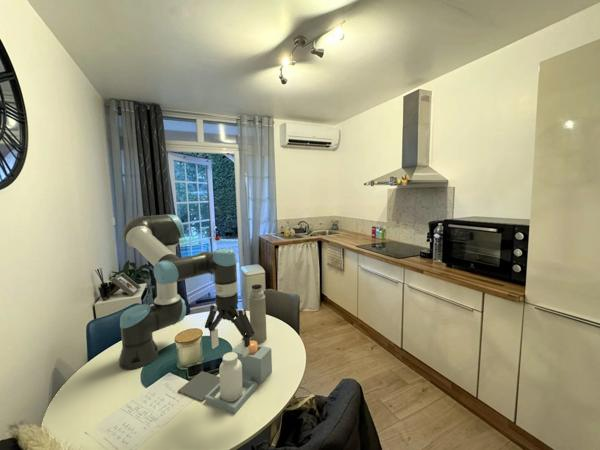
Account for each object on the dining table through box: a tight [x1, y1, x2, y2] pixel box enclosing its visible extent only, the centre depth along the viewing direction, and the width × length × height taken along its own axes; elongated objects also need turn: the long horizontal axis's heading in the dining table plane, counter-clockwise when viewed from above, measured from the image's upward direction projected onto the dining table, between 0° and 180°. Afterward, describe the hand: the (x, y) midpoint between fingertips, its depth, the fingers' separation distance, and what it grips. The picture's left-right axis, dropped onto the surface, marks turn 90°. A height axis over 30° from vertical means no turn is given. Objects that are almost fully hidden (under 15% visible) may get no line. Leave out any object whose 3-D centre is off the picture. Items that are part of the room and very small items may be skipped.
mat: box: [177, 370, 220, 402], centre depth 101 cm, size 12×12×1 cm
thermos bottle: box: [248, 284, 268, 344], centre depth 132 cm, size 8×8×28 cm
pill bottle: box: [218, 351, 244, 403], centre depth 95 cm, size 8×8×15 cm
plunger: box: [248, 340, 258, 355], centre depth 107 cm, size 5×5×7 cm
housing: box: [204, 342, 273, 414], centre depth 100 cm, size 14×24×10 cm, turn 156°
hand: (230, 350), depth 94 cm, fingers open, 13 cm apart
